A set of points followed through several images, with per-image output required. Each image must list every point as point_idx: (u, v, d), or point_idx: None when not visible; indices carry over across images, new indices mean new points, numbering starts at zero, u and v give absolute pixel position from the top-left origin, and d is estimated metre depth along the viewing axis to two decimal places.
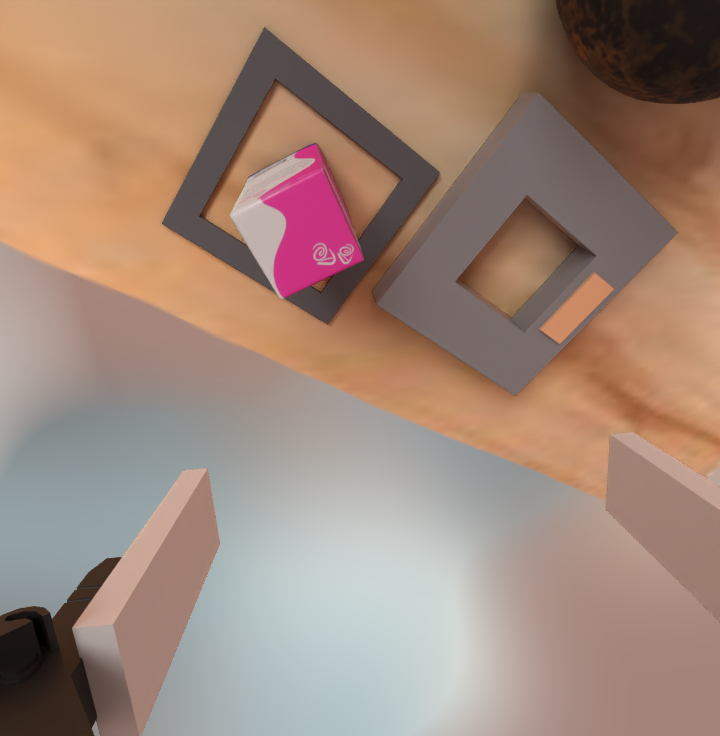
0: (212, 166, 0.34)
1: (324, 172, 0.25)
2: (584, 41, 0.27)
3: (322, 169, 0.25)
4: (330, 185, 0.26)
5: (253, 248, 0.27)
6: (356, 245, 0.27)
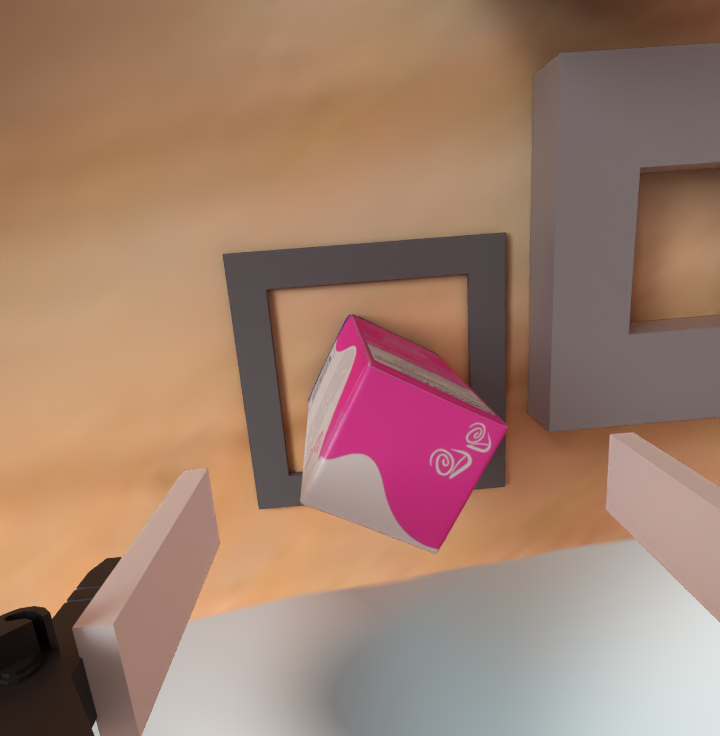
0: (267, 418, 0.28)
1: (374, 365, 0.16)
2: None
3: (369, 364, 0.16)
4: (394, 374, 0.16)
5: (356, 519, 0.17)
6: (484, 417, 0.17)
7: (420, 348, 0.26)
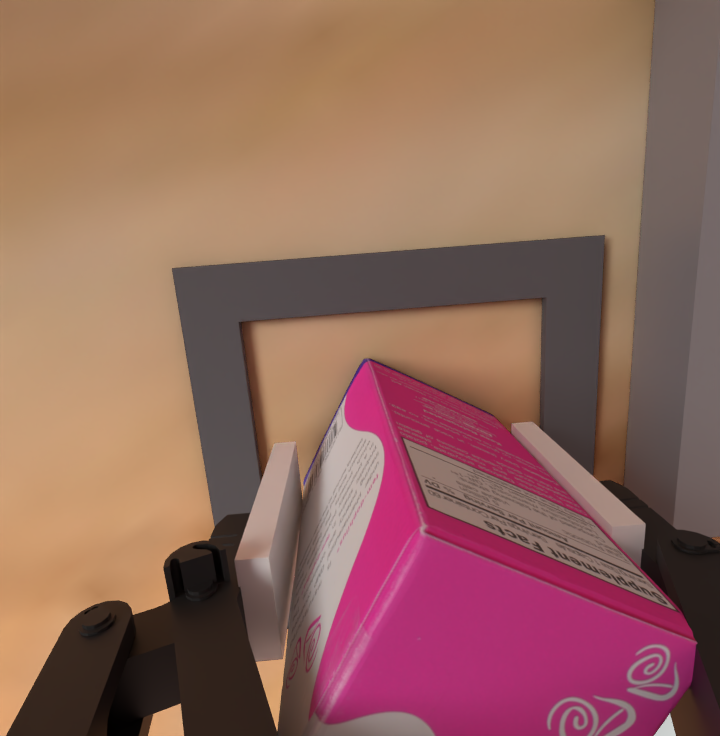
0: (242, 508, 0.19)
1: (435, 532, 0.07)
2: None
3: (423, 530, 0.07)
4: (477, 549, 0.07)
5: None
6: (668, 633, 0.08)
7: (473, 411, 0.17)
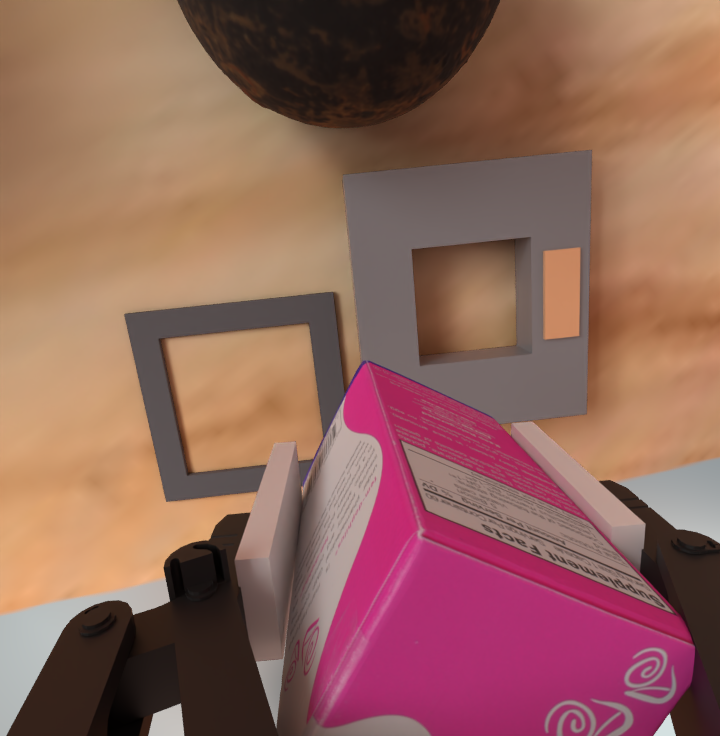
0: (167, 432, 0.37)
1: (432, 536, 0.07)
2: (318, 120, 0.26)
3: (421, 534, 0.07)
4: (474, 553, 0.07)
5: None
6: (665, 636, 0.08)
7: (472, 413, 0.17)
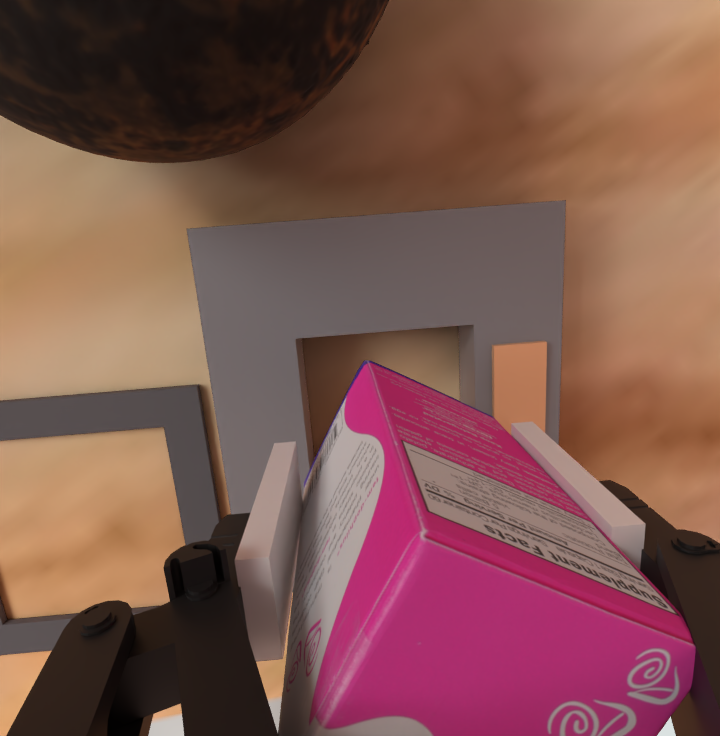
0: None
1: (435, 537, 0.07)
2: (102, 153, 0.16)
3: (423, 535, 0.07)
4: (477, 554, 0.07)
5: None
6: (668, 637, 0.08)
7: (473, 413, 0.17)
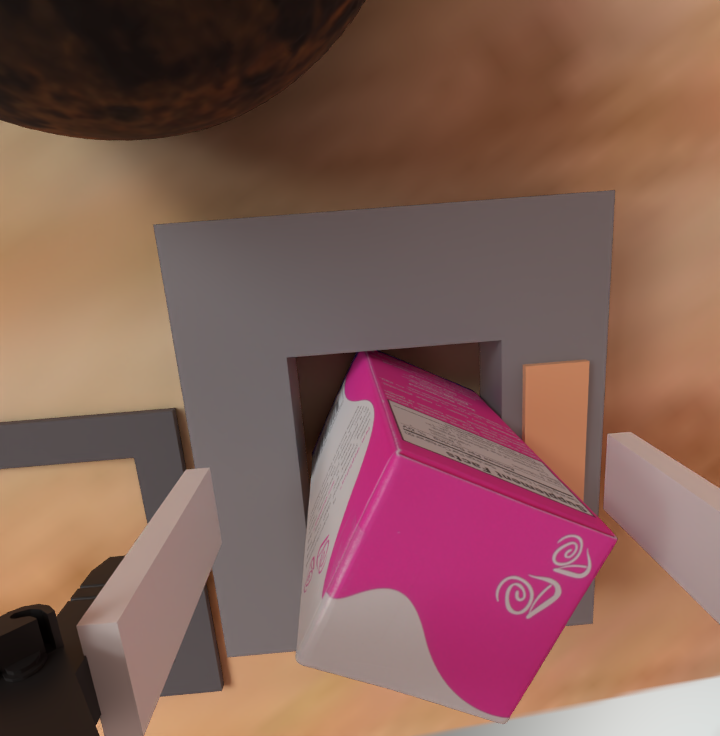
0: None
1: (406, 454, 0.10)
2: (31, 124, 0.12)
3: (398, 453, 0.10)
4: (437, 466, 0.10)
5: (383, 682, 0.11)
6: (580, 526, 0.11)
7: (454, 387, 0.20)
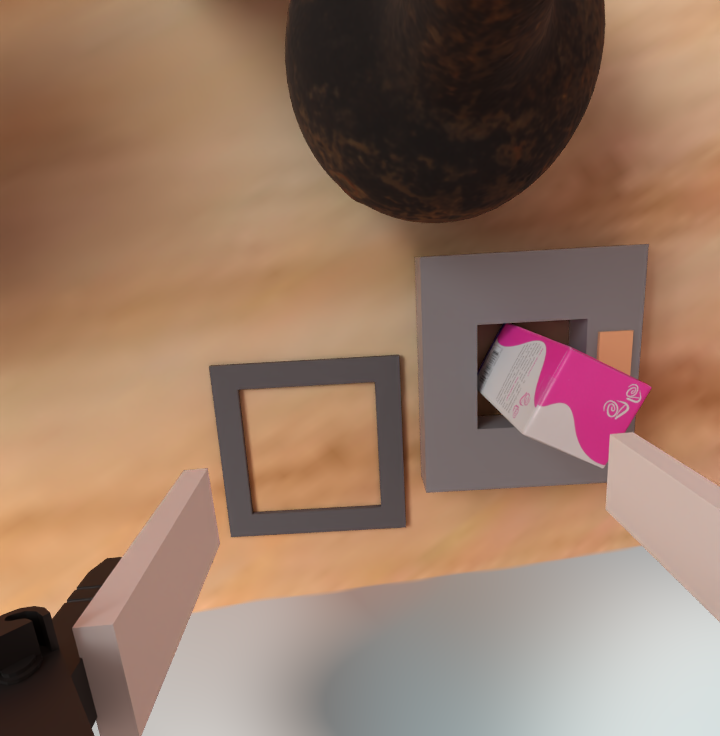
0: (237, 474, 0.40)
1: (573, 349, 0.27)
2: (409, 219, 0.29)
3: (570, 348, 0.27)
4: (584, 354, 0.27)
5: (556, 444, 0.28)
6: (637, 381, 0.27)
7: None
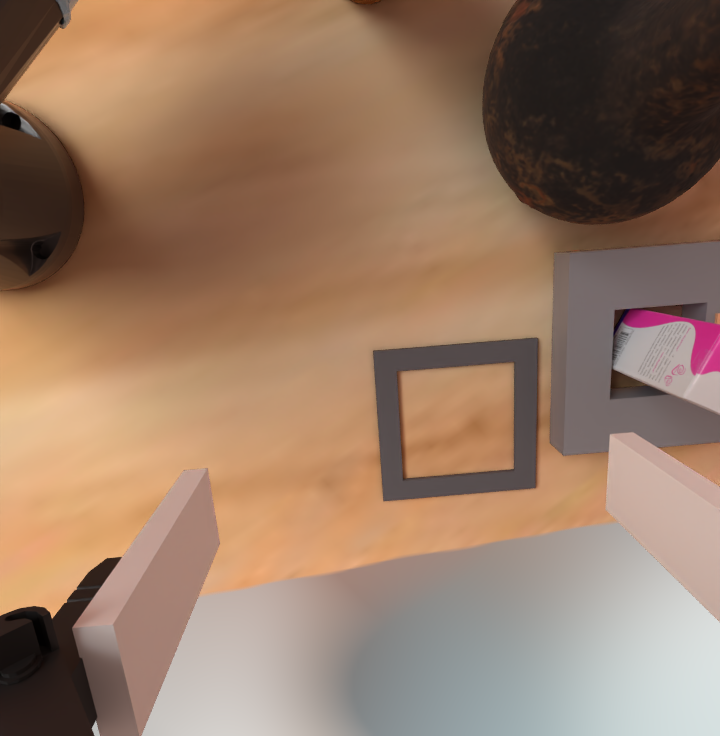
0: (392, 445, 0.46)
1: None
2: (580, 222, 0.35)
3: None
4: None
5: (709, 406, 0.34)
6: None
7: None
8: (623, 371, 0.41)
